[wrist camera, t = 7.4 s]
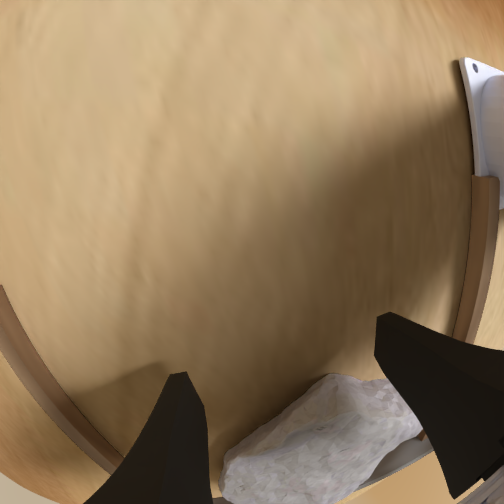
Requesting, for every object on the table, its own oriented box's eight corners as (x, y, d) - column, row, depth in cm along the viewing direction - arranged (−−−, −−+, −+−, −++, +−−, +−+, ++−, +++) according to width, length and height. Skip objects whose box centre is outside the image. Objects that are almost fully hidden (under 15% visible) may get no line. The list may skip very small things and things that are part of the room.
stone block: (208, 452, 16) (323, 474, 17) (200, 504, 12) (332, 518, 13) (284, 330, 14) (417, 373, 15) (296, 391, 9) (451, 418, 10)
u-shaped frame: (483, 173, 10) (519, 182, 8) (422, 432, 19) (434, 449, 16) (-13, 289, 8) (-42, 316, 6) (169, 504, 16) (170, 526, 14)
